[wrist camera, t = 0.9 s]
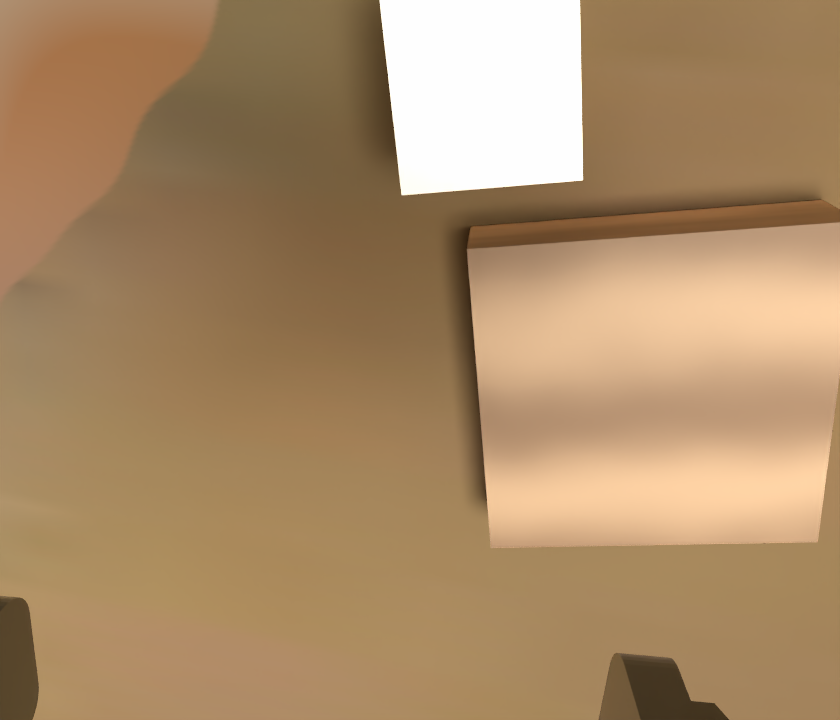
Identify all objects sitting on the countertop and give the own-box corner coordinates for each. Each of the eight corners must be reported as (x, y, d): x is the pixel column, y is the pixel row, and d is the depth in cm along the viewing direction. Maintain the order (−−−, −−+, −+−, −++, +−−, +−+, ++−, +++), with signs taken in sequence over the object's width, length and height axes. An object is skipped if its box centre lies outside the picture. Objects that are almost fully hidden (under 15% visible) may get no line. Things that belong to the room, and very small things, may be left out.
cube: (407, 4, 25) (379, -1, 19) (563, -15, 24) (579, -25, 18) (423, 159, 27) (401, 195, 21) (566, 146, 26) (582, 180, 20)
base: (470, 226, 27) (466, 249, 25) (822, 199, 26) (860, 220, 23) (492, 503, 32) (490, 547, 29) (789, 495, 30) (817, 542, 28)
